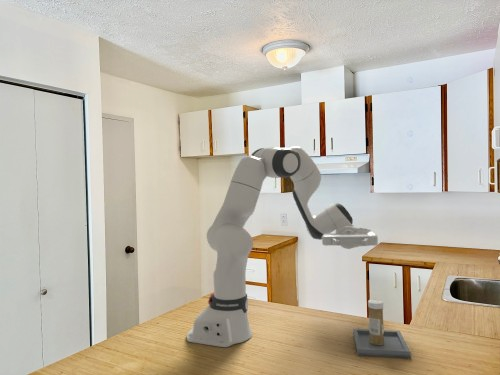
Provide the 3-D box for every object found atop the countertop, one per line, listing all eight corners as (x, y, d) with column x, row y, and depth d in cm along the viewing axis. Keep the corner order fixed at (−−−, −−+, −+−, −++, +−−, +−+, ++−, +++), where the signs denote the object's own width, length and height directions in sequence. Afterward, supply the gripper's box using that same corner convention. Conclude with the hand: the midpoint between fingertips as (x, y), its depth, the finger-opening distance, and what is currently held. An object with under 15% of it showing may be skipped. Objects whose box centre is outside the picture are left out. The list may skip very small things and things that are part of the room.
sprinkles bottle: (387, 343, 117) (386, 301, 116) (377, 347, 114) (376, 304, 114) (375, 338, 120) (374, 297, 120) (365, 342, 118) (364, 300, 118)
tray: (357, 355, 111) (357, 348, 111) (353, 334, 126) (353, 328, 126) (410, 358, 108) (410, 351, 108) (399, 336, 123) (399, 330, 123)
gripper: (321, 229, 148) (321, 234, 134) (374, 228, 144) (379, 234, 131) (321, 244, 148) (321, 251, 134) (374, 244, 144) (380, 252, 131)
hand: (350, 243), depth 132 cm, fingers open, 8 cm apart
